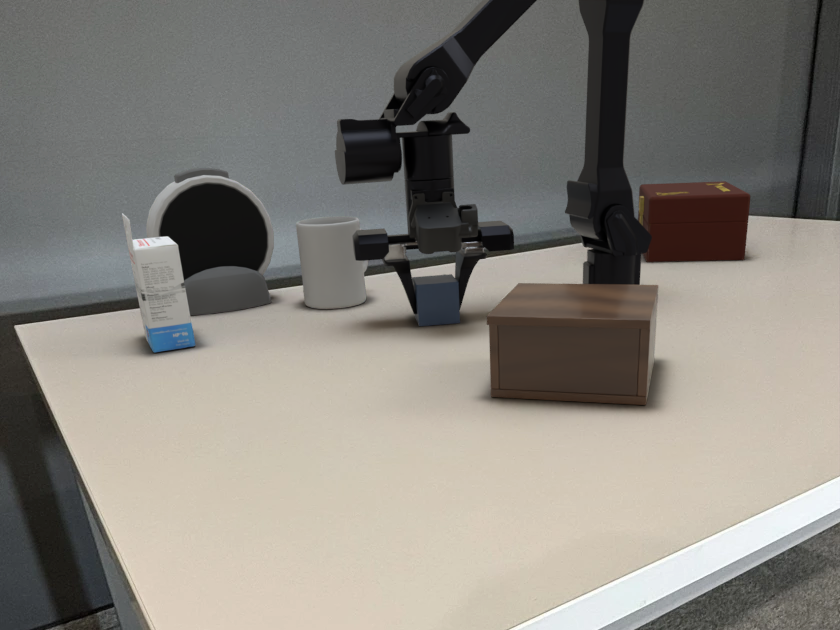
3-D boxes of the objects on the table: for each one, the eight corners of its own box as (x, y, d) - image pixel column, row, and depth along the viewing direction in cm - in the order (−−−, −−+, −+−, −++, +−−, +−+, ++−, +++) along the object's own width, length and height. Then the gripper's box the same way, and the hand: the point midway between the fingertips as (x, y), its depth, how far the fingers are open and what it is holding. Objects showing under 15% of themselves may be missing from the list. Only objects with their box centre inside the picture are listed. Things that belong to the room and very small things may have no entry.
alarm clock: (169, 320, 105) (141, 174, 97) (157, 306, 113) (130, 170, 106) (288, 302, 111) (270, 164, 104) (268, 290, 120) (250, 161, 112)
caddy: (646, 405, 68) (650, 327, 65) (490, 397, 71) (488, 323, 69) (654, 361, 79) (658, 293, 76) (519, 356, 82) (518, 291, 80)
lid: (649, 329, 64) (650, 319, 64) (486, 324, 68) (486, 315, 68) (658, 293, 76) (658, 284, 76) (518, 290, 80) (518, 282, 79)
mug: (341, 311, 105) (332, 225, 100) (292, 306, 109) (281, 223, 104) (392, 292, 114) (387, 213, 110) (345, 288, 118) (338, 212, 114)
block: (453, 313, 101) (451, 274, 99) (460, 323, 96) (458, 281, 94) (414, 316, 100) (412, 277, 98) (419, 326, 96) (416, 285, 94)
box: (629, 241, 146) (631, 184, 142) (722, 238, 143) (727, 180, 139) (637, 262, 127) (640, 196, 123) (745, 259, 124) (751, 193, 120)
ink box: (198, 346, 92) (174, 215, 86) (153, 353, 90) (126, 219, 84) (186, 331, 99) (164, 208, 93) (144, 337, 97) (118, 212, 91)
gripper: (350, 189, 83) (363, 334, 89) (524, 178, 85) (525, 321, 92) (347, 181, 93) (359, 312, 99) (502, 172, 96) (505, 300, 102)
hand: (436, 311), depth 98 cm, fingers closed on block, 5 cm apart
